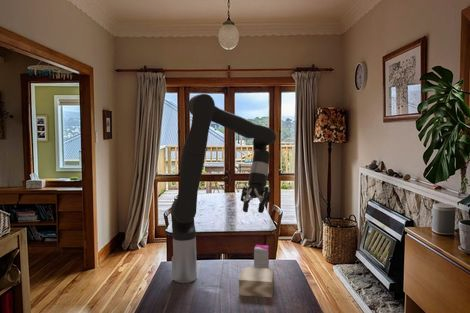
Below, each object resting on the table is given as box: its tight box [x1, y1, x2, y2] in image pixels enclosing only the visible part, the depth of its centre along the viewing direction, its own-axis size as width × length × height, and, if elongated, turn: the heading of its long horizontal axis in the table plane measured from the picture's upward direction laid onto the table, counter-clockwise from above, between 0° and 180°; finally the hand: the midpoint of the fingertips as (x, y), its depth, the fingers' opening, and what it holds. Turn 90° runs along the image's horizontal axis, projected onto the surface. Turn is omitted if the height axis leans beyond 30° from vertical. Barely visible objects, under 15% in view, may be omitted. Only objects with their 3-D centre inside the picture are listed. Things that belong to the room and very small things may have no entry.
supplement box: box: [253, 244, 270, 268], centre depth 144 cm, size 6×6×12 cm
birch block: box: [238, 266, 275, 298], centre depth 131 cm, size 12×12×6 cm
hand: (252, 212), depth 140 cm, fingers open, 8 cm apart
